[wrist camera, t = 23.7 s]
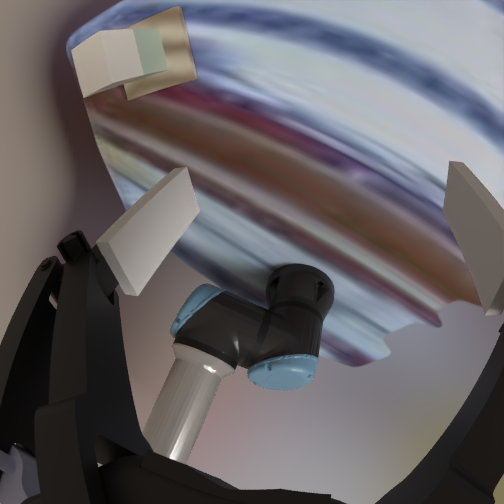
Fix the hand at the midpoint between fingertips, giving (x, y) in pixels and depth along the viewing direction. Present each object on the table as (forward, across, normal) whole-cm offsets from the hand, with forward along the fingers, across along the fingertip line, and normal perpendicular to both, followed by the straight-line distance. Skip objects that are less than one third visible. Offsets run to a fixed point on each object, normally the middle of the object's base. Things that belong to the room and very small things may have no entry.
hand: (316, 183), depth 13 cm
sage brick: (+30, +27, -13) cm, 43 cm away
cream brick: (+23, +27, -13) cm, 38 cm away
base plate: (+32, +27, -13) cm, 44 cm away
